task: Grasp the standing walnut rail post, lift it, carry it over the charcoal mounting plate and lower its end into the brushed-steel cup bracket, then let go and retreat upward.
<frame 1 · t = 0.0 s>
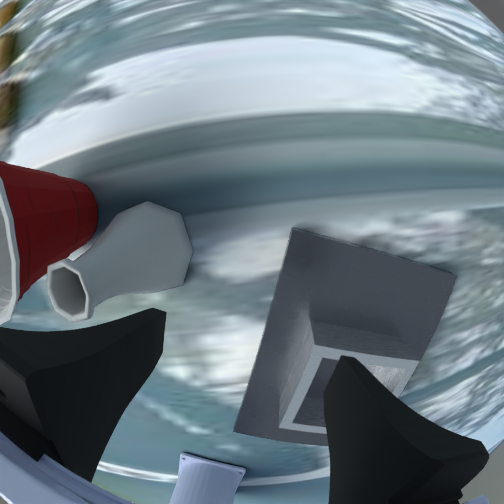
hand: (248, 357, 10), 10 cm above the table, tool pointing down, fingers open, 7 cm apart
plastic cup: (77, 215, 21), on the table
flask: (151, 247, 21), on the table
cup bracket: (339, 365, 21), on the table
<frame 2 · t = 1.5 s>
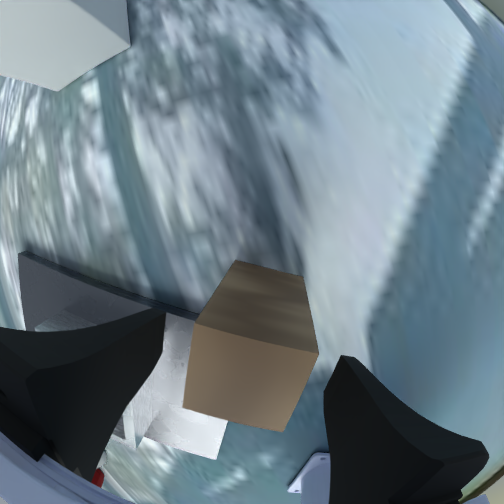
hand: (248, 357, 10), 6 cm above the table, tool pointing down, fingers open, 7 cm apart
walnut rail post: (261, 299, 17), on the table
milk carton: (92, 38, 14), on the table
cup bracket: (112, 363, 19), on the table
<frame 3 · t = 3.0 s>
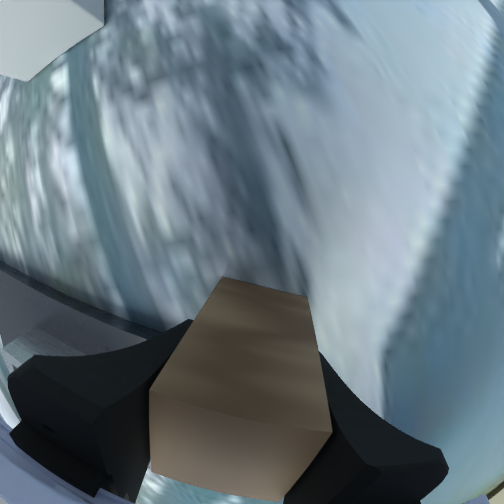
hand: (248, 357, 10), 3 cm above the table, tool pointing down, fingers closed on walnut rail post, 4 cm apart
walnut rail post: (255, 324, 13), on the table, touching gripper
milk carton: (66, 22, 10), on the table
cup bracket: (90, 385, 16), on the table
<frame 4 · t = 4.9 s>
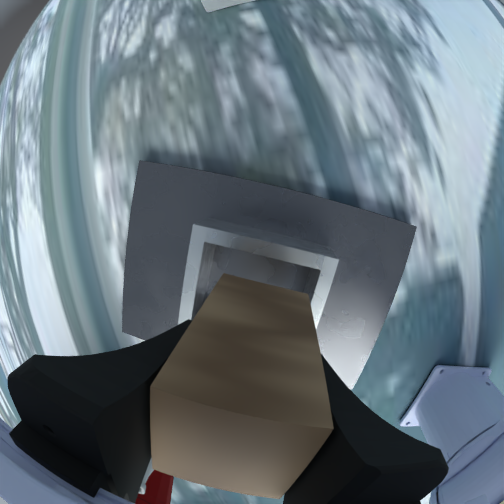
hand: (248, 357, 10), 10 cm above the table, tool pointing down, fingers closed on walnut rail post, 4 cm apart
plastic cup: (155, 447, 27), on the table
walnut rail post: (256, 321, 13), point 7 cm above the table, touching gripper
cup bracket: (256, 283, 20), on the table
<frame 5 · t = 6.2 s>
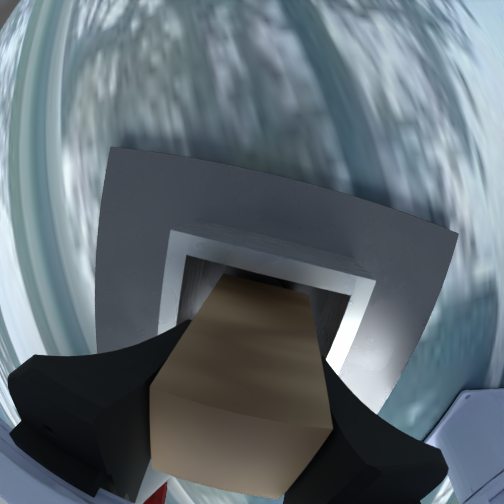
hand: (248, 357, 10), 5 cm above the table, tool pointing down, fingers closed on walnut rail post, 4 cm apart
plastic cup: (145, 472, 22), on the table
walnut rail post: (255, 321, 13), point 2 cm above the table, touching gripper
flask: (152, 441, 20), on the table
cup bracket: (258, 305, 16), on the table
when the fingers open (5 cm above the table, at t = 7.0 s): walnut rail post drops 1 cm, resting on cup bracket.
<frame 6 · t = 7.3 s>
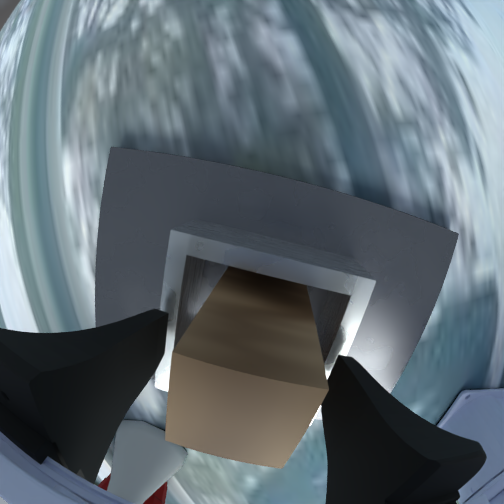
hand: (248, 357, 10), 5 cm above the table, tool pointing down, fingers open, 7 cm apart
plastic cup: (145, 472, 22), on the table
walnut rail post: (258, 310, 15), point 1 cm above the table, touching cup bracket
flask: (152, 441, 20), on the table
cup bracket: (259, 305, 16), on the table
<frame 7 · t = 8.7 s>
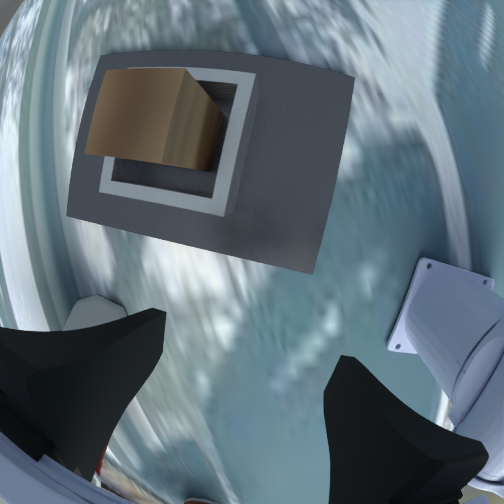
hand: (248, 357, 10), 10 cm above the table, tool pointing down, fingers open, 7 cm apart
walnut rail post: (188, 138, 17), point 1 cm above the table, touching cup bracket
flask: (106, 328, 23), on the table
cup bracket: (192, 142, 18), on the table
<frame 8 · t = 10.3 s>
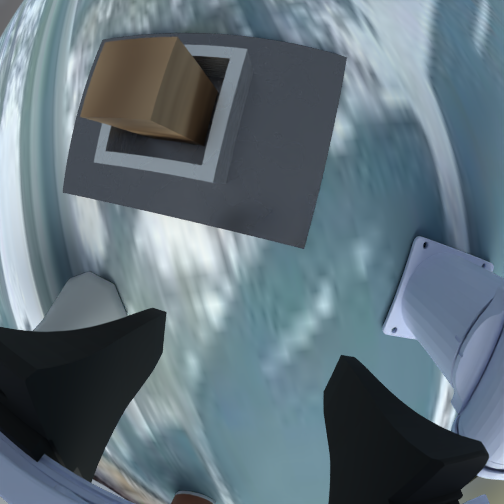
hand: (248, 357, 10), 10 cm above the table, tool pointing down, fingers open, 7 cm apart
coffee cup: (195, 498, 30), on the table
walnut rail post: (183, 114, 17), point 1 cm above the table, touching cup bracket
flask: (97, 307, 23), on the table
cup bracket: (187, 119, 18), on the table
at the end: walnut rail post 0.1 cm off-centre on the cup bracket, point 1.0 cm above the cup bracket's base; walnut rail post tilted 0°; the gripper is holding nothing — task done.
